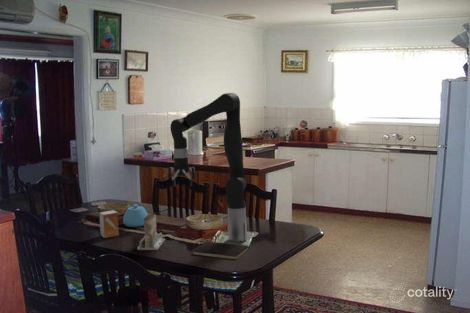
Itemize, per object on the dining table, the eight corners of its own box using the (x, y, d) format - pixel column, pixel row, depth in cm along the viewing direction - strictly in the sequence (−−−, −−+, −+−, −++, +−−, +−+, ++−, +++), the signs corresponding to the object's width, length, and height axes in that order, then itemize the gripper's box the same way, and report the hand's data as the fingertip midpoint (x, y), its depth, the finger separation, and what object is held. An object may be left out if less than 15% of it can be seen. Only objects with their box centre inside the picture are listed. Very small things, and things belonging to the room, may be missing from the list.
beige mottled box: (156, 239, 274) (155, 213, 272) (152, 245, 264) (150, 218, 262) (150, 239, 274) (148, 213, 272) (145, 245, 264) (143, 218, 262)
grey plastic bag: (164, 240, 276) (164, 232, 276) (157, 250, 261) (156, 242, 260) (145, 239, 277) (145, 232, 277) (137, 249, 262) (136, 242, 261)
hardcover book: (236, 260, 244) (236, 255, 244) (192, 255, 253) (191, 250, 253) (249, 250, 259) (249, 245, 258) (206, 245, 268) (206, 240, 267)
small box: (104, 238, 282) (103, 214, 280) (100, 235, 287) (99, 212, 285) (119, 235, 286) (117, 212, 284) (114, 233, 291) (113, 209, 289)
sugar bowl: (154, 222, 311) (153, 203, 309) (137, 229, 298) (136, 209, 296) (135, 219, 319) (134, 200, 317) (117, 225, 306) (116, 206, 304)
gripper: (166, 157, 278) (167, 188, 280) (192, 157, 276) (194, 187, 279) (169, 155, 285) (170, 185, 288) (195, 155, 284) (196, 184, 286)
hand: (182, 186), depth 283 cm, fingers open, 8 cm apart
